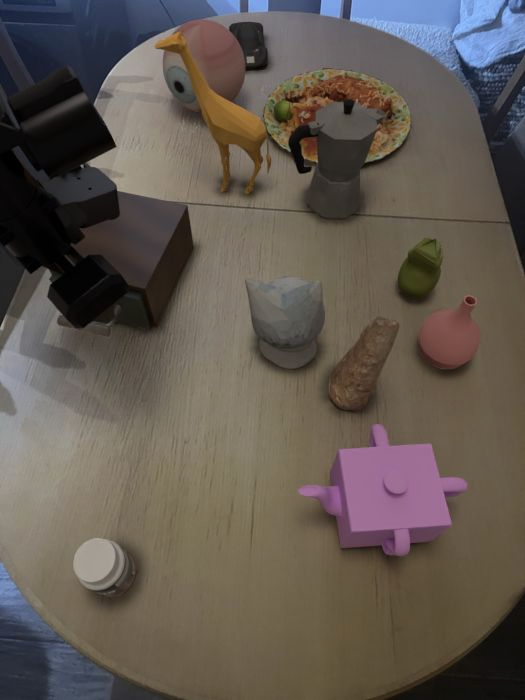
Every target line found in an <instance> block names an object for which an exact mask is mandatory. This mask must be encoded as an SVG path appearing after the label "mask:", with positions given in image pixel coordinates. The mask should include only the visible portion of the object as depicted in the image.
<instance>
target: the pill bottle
mask: <svg viewBox="0 0 525 700" xmlns="http://www.w3.org/2000/svg"><path fill="white" fill-rule="evenodd" d="M72 565H73V566H72V567H73V570H74V573H75V575H76V577H77V579H78V581H79V583H80V584H81V585H82V586H83V587H84V588H86V589H88V590H90V591H92V592H94V593H96V594H98V595H100V596H102V597H106V598H114V597H119V596H120V595H122V594H124V593H125V592H126V591H127V590H128V589H130V587H131V586H132V584H133V583H134V580H135V576H136V564H135V561H134V559H133V557H132V556H131V555H130V554H129V553H128V552H127V551H126V550H124V549H123V548H122V546H121V545H119V544H118V543H117V542H115V541H113V540H111V539H105V538H103V537H93V538H90V539H88V540H86V541H85V542H83V543H82V544H81V545H79V547H78V548H77V550H76V552H75V554H74V556H73V562H72Z"/></svg>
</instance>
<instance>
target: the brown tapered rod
mask: <svg viewBox="0 0 525 700" xmlns="http://www.w3.org/2000/svg"><path fill="white" fill-rule="evenodd" d="M399 330H400V323H399V322H398V321H397V320H396V319H394V318H392V317H388V316H387V315H379V316H377V317H376V318H374V319H372V320H371V321H370V322H368V324H366V325H365V327H364V328H363V330H362V331H361V333H360V335H359V338H358V339H357V341H356V342H355V344H354V345H352V346H351V347H350V349H349V350H348V351H347V352H346V353H345V354H344V355H343V357H342V358H341V359H340V360H339V362H338V363H337V364H336V366H335V367H334V368H333V370H332V371H331V373H330V376H329V379H328V382H327V388H328V391H327V392H328V398H329V399H331V400H332V402H333V404H334V405H335V406H336V407H337V408H339V409H341V410H344V411H353V412H357V411H360V410H361V409H363V408H364V407H365V406H366V405H367V403H368V402H369V399H370V397H371V394H372V391H373V390H374V388H375V386H376V384H377V382H378V380H379V377H380V375H381V373H382V371H383V368H384V367H385V364H386V362H387V360H388V357H389V355H390V353H391V351H392V349H393V347H394V344H395V341H396V338H397V335H398V332H399Z"/></svg>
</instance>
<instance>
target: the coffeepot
mask: <svg viewBox="0 0 525 700" xmlns="http://www.w3.org/2000/svg"><path fill="white" fill-rule="evenodd" d="M386 116H387V115H386V113H385V112H384V111H383V110H378V109H371V108H365V107H364V106H362V105H360V104H359V103H355V102H354V100H352V99H345V100H344V101H343V102H332V103H330V104H328V105H326V106H325V107H323V108H321V109H320V110H318V111H316V121H314V122H309V123H308V124H307V125H300V126H298V127H297V128H296V129H295V131H294V132H293V133H292V134H291V135H290V137H289V140H288V145H289V148H290V150H291V153H290V154H291V155H292V159H293V162H294V165H295V166H296V171H297V173H298V174H300V175H304V174H307V173H310V172H312V170H313V166H312V165H310V166H305V159H304V157H303V155H302V148H301V144H300V141H301V140H302V139H303V138H309V137H317V156H318V163H316V164H315V168H314V171H313V175H312V177H311V180H310V184H309V187H308V190H307V206H308V208H310V210H311V211H313V212H314V214H316V215H318V216H320V217H321V218H325V219H328V220H329V219H330V220H331V219H332V220H342V219H347V218H349V217H350V216H353V214H354V213H356V212H357V211H358V210H359V209H360V208H361V168H362V167H363V166H364V165H365V164H364V163H365V160H366V158H367V155H368V152H369V150H370V147H371V145H372V142H373V140H374V137H375V135H376V132H377V126H378V124H379V123H380V122H381V121H382V119H384V118H385V117H386Z"/></svg>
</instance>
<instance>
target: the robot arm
mask: <svg viewBox="0 0 525 700" xmlns="http://www.w3.org/2000/svg"><path fill="white" fill-rule="evenodd" d="M17 147H19V148H20V150H21V152H22V154H24V156H25V157H26V159H27V160H28V162H29V163H30V165H31V166H32V167H33V169H34V170H35V171H36V172H37V173H39V172H40V171H43V172H44V173H45V175H46V176H47V177H48V180H46V182H43V183H41V181H40V180H39V179H38V178H37V176H35V175H34V174H32V173H31V171H30V170H29V168H28V167H27V166H26V164H25V163H24V162H23V160H22V159H21V158H20V157H19V156H18V154H17V152H16V151H15V150H14V149H15V148H17ZM115 148H117V144H116V142H115V139H114V137H113V136H112V133H111V131H110V130H109V128H108V125H107V124H106V122H105V121H104V119H103V118H102V116H101V114H100V113H99V111H98V110H97V108H96V106H95V104H94V103H93V102H92V100H91V99H90V97H89V96H88V94H87V91H86V90H85V89H84V88H83V85H82V84H81V82H80V80H79V78H78V76H77V75H76V73H75V72H74V70H73V68H72V66H69V65H65V66H62V67H60V68H58V69H56V70H54V71H52V73H50V74H49V75H48V76H47V77H45V78H44V79H42V80H40V81H38V82H36V83H34V84H32V85H30V86H27V87H25V88H24V89H22V90H19V91H18V92H16V93H14V94H12V95H10V96H8V95H7V94H6V92H5V90H4V88H3V85H2V83H0V244H1V245H2V246H3V247H5V248H6V249H7V250H8V252H10V253H11V254H12V255H13V256H14V257H15V259H16V260H17V261H18V262H19V263H20V265H22V267H23V268H24V269H25V270H26V271H27V272H28V274H29V275H32V274H33V273H35V272H36V271H37V270H39V269H40V268H41V267H43V268H46V269H47V270H48V271H49V270H51V271H54V272H56V273H58V274H60V275H62V276H61V277H59V278H58V279H57V280H55V281H54V282H53V283H50V284H49V287H48V291H47V295H46V298H48V300H49V302H51V304H52V305H53V306H54V307H55V308H56V309H57V310H58V312H59V313H60V315H63V316H64V317H65V318H66V319H67V320H68V321H69V322H70V323H71V324H72V325H73V326H74V327H75V329H74V330H76V329H77V328H85V327H86V326H87V325H88V324H90V323H91V322H92V323H99V324H105V325H106V324H108V323H110V322H111V321H112V320H113V319H114V318H115V313H114V308H113V304H114V303H116V302H117V301H118V300H119V299H121V298H122V297H123V296H124V295H125V294H127V293H128V288H129V285H128V284H127V282H126V281H125V279H124V278H123V276H122V275H121V274H120V273H119V272H118V271H117V270H116V269H115V268H114V267H113V266H112V265H111V264H110V263H109V262H108V261H107V260H106V259H105V258H104V257H103V256H102V255H88V256H87V257H85V258H84V257H83V256H82V255H81V254H80V253H79V252H78V251H77V250H76V249H75V248H74V247H73V246H72V245H71V243H73V244H74V245H76V244H78V243H79V242H80V241H81V240H83V239H84V238H85V236H84V234H83V233H82V231H81V230H80V229H79V228H88V227H91V226H93V225H96V224H99V223H101V222H104V221H107V220H114V219H116V218H118V217H119V216H120V209H119V201H118V192H117V191H118V186H117V184H116V183H115V181H113V179H111V178H110V177H109V176H107V174H105V173H104V172H103V171H102V170H100V169H99V168H98V167H95V166H91V165H90V164H89V163H88V162H90V161H93V160H94V159H96V158H98V157H100V156H102V155H104V154H106V153H109V152H110V151H112V150H114V149H115ZM65 255H67V256H68V258H69V259H70V260H71V261H72V262H73V263H74V264H75V266H73V265H72V264H71V263H70V262H69V261H68V260H67V258H66V257H65Z"/></svg>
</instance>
